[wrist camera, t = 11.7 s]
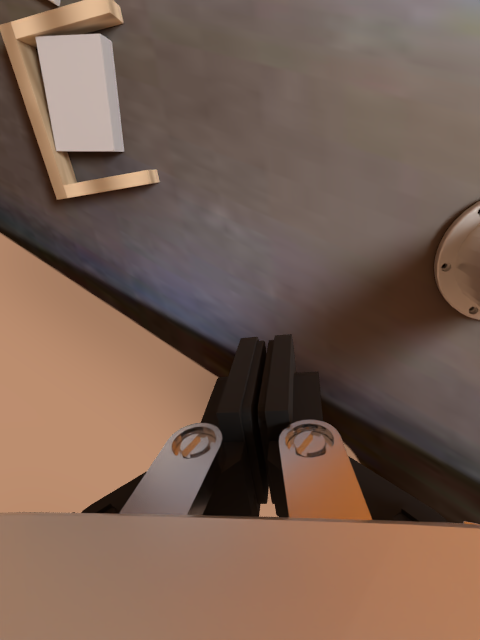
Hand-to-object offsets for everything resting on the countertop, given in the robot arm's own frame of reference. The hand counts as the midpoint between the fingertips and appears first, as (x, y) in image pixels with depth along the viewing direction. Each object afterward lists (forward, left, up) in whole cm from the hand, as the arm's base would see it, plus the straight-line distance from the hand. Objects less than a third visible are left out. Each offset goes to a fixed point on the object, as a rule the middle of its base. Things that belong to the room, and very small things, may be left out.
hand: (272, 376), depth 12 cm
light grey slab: (+18, -15, -28) cm, 36 cm away
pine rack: (+17, -14, -27) cm, 35 cm away
